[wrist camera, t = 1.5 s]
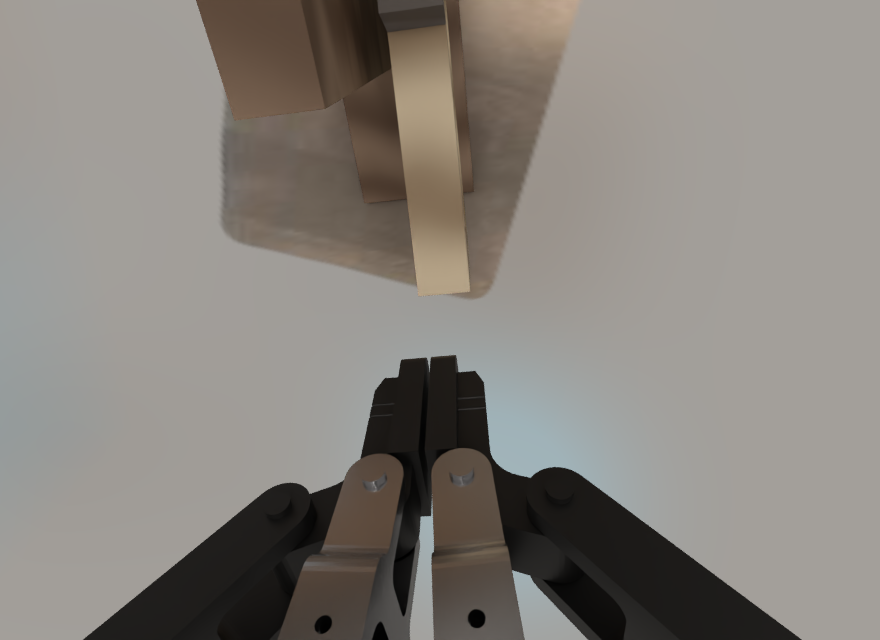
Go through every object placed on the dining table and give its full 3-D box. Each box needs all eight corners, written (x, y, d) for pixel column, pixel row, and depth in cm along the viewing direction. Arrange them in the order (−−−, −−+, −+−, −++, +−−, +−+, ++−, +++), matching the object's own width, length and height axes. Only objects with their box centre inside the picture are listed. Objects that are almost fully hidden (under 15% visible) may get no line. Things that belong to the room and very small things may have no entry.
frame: (402, -84, 33) (326, -418, 15) (437, -90, 32) (403, -435, 15) (438, 259, 38) (414, 305, 21) (468, 256, 38) (470, 299, 20)
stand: (282, -221, 33) (-467, -1339, 6) (438, -250, 32) (368, -1700, 5) (366, 198, 48) (261, 406, 22) (473, 187, 48) (501, 388, 21)
